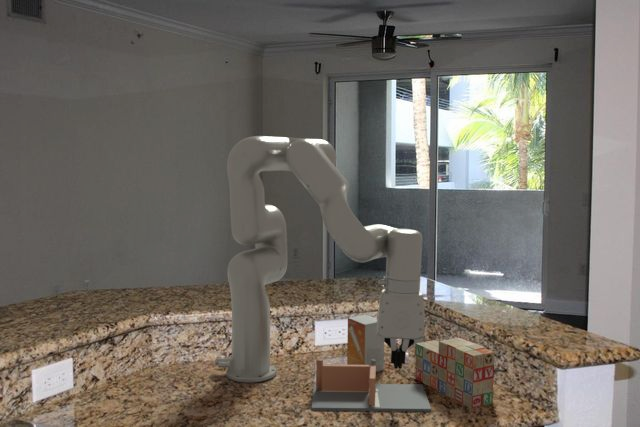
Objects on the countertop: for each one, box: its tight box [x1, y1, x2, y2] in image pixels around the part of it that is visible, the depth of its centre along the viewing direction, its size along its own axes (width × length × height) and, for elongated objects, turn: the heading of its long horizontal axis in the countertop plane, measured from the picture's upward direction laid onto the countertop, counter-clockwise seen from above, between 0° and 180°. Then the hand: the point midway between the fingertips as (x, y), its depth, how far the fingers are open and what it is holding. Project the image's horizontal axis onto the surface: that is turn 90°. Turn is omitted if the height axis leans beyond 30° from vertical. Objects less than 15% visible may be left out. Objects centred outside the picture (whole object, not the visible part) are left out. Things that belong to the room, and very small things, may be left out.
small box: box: [346, 314, 385, 374], centre depth 170 cm, size 8×6×13 cm
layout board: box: [311, 382, 432, 412], centre depth 150 cm, size 26×15×1 cm, turn 89°
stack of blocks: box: [414, 337, 496, 410], centre depth 154 cm, size 21×6×12 cm, turn 28°
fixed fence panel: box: [315, 358, 370, 391], centre depth 152 cm, size 12×2×7 cm, turn 89°
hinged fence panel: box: [369, 359, 377, 405], centre depth 148 cm, size 10×1×7 cm, turn 174°
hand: (397, 366), depth 145 cm, fingers closed
